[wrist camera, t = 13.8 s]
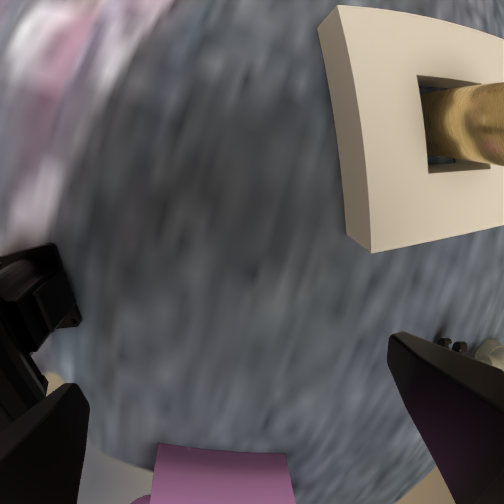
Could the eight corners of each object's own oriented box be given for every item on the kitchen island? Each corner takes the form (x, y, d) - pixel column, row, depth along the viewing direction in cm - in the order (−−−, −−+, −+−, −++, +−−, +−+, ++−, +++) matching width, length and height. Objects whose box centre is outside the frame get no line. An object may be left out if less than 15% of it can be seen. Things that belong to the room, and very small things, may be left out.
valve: (505, 325, 26) (439, 323, 24) (541, 355, 20) (480, 364, 18) (481, 373, 28) (410, 380, 26) (510, 405, 22) (441, 425, 20)
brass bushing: (385, 148, 19) (548, 169, 7) (398, 76, 17) (550, 41, 5) (442, 170, 20) (589, 211, 7) (454, 105, 18) (598, 106, 6)
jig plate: (346, 234, 21) (371, 253, 17) (316, 28, 16) (337, 5, 12) (488, 209, 21) (520, 221, 17) (471, 47, 16) (503, 39, 13)
